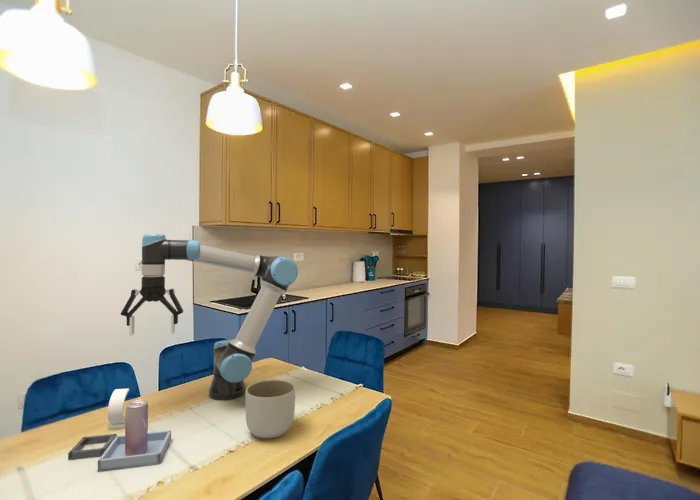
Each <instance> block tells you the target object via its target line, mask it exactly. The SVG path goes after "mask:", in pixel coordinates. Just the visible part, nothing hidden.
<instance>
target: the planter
mask: <svg viewBox="0 0 700 500" xmlns="http://www.w3.org/2000/svg"><path fill="white" fill-rule="evenodd" d="M296 390H297V389H296V385H295V383H293V382H291V381H289V380H286V379H281V378H280V379H278V378H273V379H272V378H270V379H263V380H258V381H256V382H253V383H251V384H249V385H247V387H245V393H244V397H245V420H246V421H245V422H246V426H247V428H248V430H249V432H250V433H251V434H253V436H256V437H257V438H260V439H266V440H267V439H274V438H275V439H276V438H278V437H280V436H283V435H284V434H285V433H287V432H288V430H289V429H290V428H291V427H292V426H293V423H294V419H295V411H296V409H295V408H296V392H297V391H296Z"/></svg>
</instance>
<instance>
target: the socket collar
mask: <svg viewBox="0 0 700 500" xmlns="http://www.w3.org/2000/svg"><path fill="white" fill-rule="evenodd" d="M116 436H118V435H117V433H110V434H101V435H99V434H98V435H92V436H83V437H82V438H81V439H80V440H79V441H77V443H76V444H75V445H74V446H73V447H72V449H71V450H70V451H68V453H67V460H68V461H70V460H71V461H72V460H79V459H80V460H81V459H90V458H97V457H99V458H100V457H101V456H102V455H103V453H104V452H105V451H106V449H107V448H108V447H109V445H110V444H111V443H112V441H113V440H114V439H115V437H116ZM102 443H103V444H104V443H105V444H104V445H103V446H102V447H99V448H91V449H83V448H84V447H85V446H86V445H93V444H102Z"/></svg>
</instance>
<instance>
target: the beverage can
mask: <svg viewBox="0 0 700 500" xmlns="http://www.w3.org/2000/svg"><path fill="white" fill-rule="evenodd" d="M124 414H125V415H124V419H125V427H124V433H125V434H124V435H125V454H126V456H132V455H141V454H143V453H145V452H146V450H147V448H148V433H149V431H148V430H149V403H148V400H146V399H136V400H132V401H129V402H128V403H127V404H126V407H125V413H124Z"/></svg>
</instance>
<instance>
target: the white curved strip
mask: <svg viewBox="0 0 700 500" xmlns="http://www.w3.org/2000/svg"><path fill="white" fill-rule="evenodd" d="M129 392H130V388H115V389H114V390H113V391H112V392H111V393H112V394H111V396H110V399H109V402H108V405H107V406H108V407H107V420H108V422H109V424H110V425H109V426H108V430H115V429H116V430H117V429H118V430H119V429H125V415H124V414H125V413H124V409H125V403H126V402H125V401H126V398H127V396H128V394H129Z"/></svg>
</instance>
